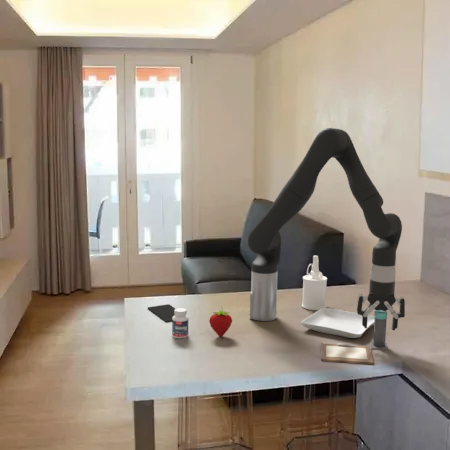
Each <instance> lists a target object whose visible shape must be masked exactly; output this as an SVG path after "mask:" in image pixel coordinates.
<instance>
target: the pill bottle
mask: <svg viewBox="0 0 450 450" xmlns="http://www.w3.org/2000/svg"><path fill="white" fill-rule="evenodd" d="M187 313H188V311H187V309H186V308H183V307H179V308H175V310H174V314H175V315H174V316H173V318H172V322H171V332H172V334H171V336H172V337H173V338H175V339H186V338H188V336H189V316H188V315H187Z"/></svg>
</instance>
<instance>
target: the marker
mask: <svg viewBox="0 0 450 450" xmlns="http://www.w3.org/2000/svg"><path fill="white" fill-rule="evenodd" d="M373 316H374V318H375V321H374V324H373V341H372V342H373V345H374V346H375V347H385V343H386V339H387V337H386V335H387V321H388V310H386V311H382V310H379V311H376V310H375V309H374V315H373Z"/></svg>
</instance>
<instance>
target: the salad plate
mask: <svg viewBox="0 0 450 450" xmlns="http://www.w3.org/2000/svg"><path fill="white" fill-rule="evenodd" d="M362 317H363V316H362V315H358V314H357V312H353V311H349V310H348V311H346V310H342V309H335V308H331V307H330V308H329V307H326V308H322V309H320V310H316V311H314V313H312V314H311V315H309V316H307V317H306V318H305V319H303V320H301V321H300V323H301V325H302V326H303V327H304V328H307V329H309V330H312V331H315V332H318V333H323V334H327V335H328V334H329V335H332V334H333V335H334V336H337V335H338V337H342V338H348V339H349V338H350V339H358V338H361V337H362V335H363V334H365V332H366V331H368V329H369V328H371V327H372V326H374V321H375V318H374V315H369V314H368V316H367V317H368V318H367V328H364V326H363V325H362ZM333 335H332V336H333Z"/></svg>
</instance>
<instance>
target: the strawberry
mask: <svg viewBox="0 0 450 450" xmlns="http://www.w3.org/2000/svg"><path fill="white" fill-rule="evenodd" d="M220 308H221V310H220V309H219V311H217V312H213V314H212V315H211V316H210V317H209V321H208V322H209V324H210V328H211V329H212V330H213V331H214V332H215V333H216V335H218V337H223V336H224V335H225V334H226V333H227V332H228V330H229V329H230V327H231V325H232V322H233V319H232V316H231V315H230V314H229V313H228V312H227V311H224V310H223V307H222V306H220Z"/></svg>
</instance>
